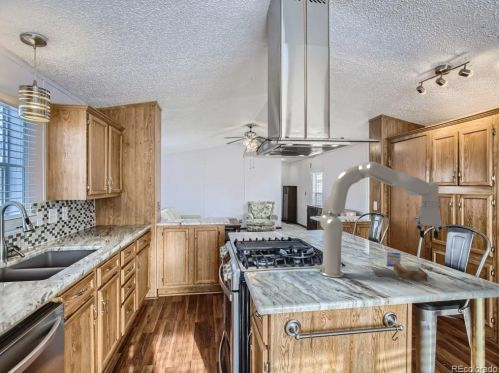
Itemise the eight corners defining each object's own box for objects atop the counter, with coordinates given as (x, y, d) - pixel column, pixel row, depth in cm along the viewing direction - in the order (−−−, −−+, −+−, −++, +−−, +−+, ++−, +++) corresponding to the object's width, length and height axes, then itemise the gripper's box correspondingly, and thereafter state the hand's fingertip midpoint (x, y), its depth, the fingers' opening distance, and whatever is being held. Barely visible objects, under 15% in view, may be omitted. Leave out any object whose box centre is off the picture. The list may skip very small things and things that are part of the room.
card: (406, 270, 147) (406, 265, 147) (401, 265, 156) (401, 261, 156) (418, 271, 146) (418, 266, 146) (412, 266, 155) (412, 262, 155)
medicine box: (386, 266, 168) (386, 252, 168) (384, 264, 173) (384, 250, 173) (400, 267, 167) (400, 253, 166) (398, 265, 171) (398, 251, 171)
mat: (377, 276, 149) (377, 275, 149) (371, 268, 162) (371, 268, 162) (399, 278, 146) (399, 277, 146) (392, 270, 160) (392, 269, 160)
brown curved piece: (401, 279, 145) (402, 271, 145) (393, 270, 160) (393, 263, 160) (427, 281, 142) (427, 273, 142) (416, 272, 158) (416, 265, 158)
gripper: (444, 205, 151) (443, 237, 151) (409, 203, 155) (408, 235, 155) (451, 206, 143) (450, 240, 143) (414, 204, 147) (413, 238, 147)
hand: (428, 237), depth 149 cm, fingers open, 5 cm apart
